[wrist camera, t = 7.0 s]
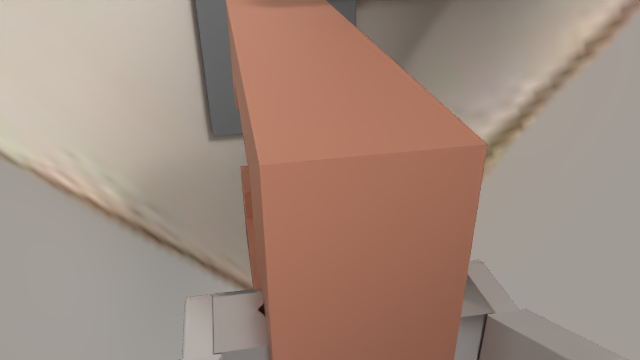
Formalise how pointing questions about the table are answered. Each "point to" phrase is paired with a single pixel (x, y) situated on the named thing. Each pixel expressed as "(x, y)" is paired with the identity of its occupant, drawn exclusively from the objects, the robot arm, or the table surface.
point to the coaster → (219, 61)
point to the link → (349, 189)
